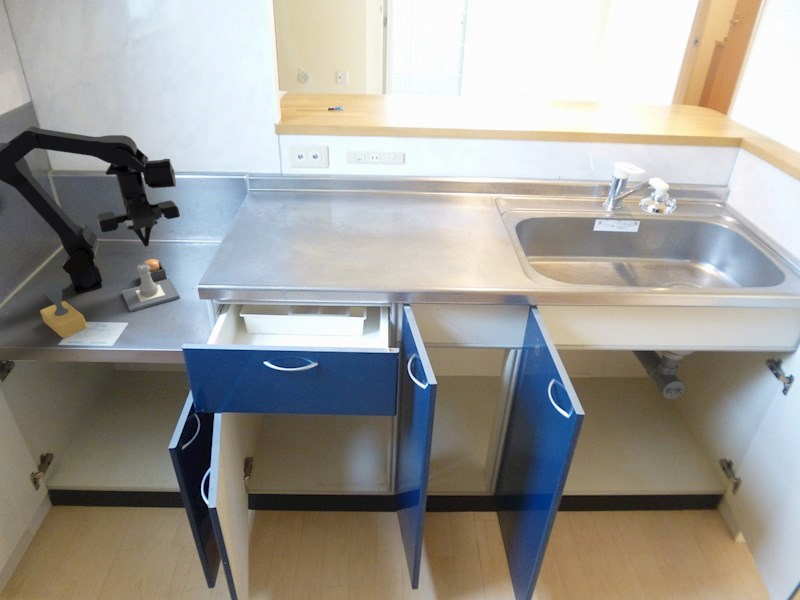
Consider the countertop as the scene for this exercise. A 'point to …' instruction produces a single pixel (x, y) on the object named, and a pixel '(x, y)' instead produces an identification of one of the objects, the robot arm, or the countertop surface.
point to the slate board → (139, 301)
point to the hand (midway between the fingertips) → (146, 245)
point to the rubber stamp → (61, 312)
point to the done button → (153, 265)
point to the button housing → (159, 274)
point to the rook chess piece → (146, 281)
